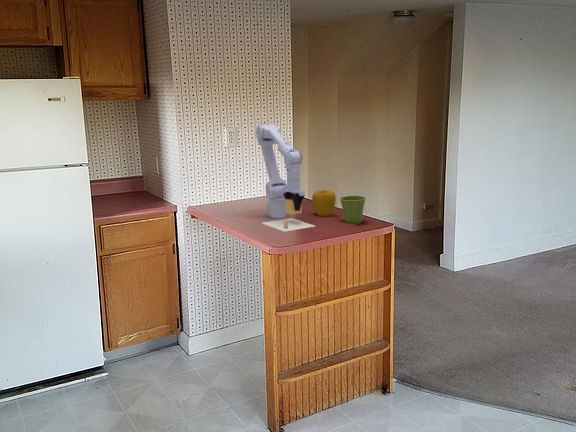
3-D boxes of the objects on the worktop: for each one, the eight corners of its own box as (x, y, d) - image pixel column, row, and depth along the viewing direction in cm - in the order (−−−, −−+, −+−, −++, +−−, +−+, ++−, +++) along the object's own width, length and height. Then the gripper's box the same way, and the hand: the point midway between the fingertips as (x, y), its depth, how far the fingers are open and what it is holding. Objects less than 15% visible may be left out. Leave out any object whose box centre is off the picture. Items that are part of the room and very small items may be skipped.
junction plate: (261, 225, 256) (260, 215, 255) (291, 220, 264) (291, 210, 263) (284, 233, 240) (283, 223, 239) (316, 228, 248) (315, 218, 247)
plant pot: (348, 218, 264) (348, 194, 262) (371, 221, 257) (371, 197, 255) (334, 223, 256) (333, 198, 253) (356, 227, 248) (356, 201, 246)
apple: (307, 217, 270) (307, 189, 267) (323, 213, 277) (322, 186, 275) (325, 220, 262) (325, 192, 260) (340, 216, 270) (340, 189, 267)
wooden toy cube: (286, 212, 256) (286, 199, 254) (295, 211, 258) (295, 197, 257) (292, 214, 252) (291, 201, 250) (301, 212, 254) (301, 199, 253)
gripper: (277, 178, 256) (277, 208, 259) (294, 182, 243) (295, 213, 246) (290, 176, 259) (291, 206, 262) (308, 180, 247) (308, 211, 250)
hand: (294, 209), depth 255 cm, fingers closed on wooden toy cube, 5 cm apart
